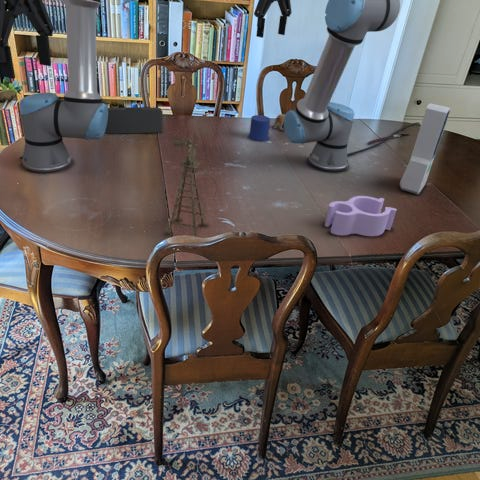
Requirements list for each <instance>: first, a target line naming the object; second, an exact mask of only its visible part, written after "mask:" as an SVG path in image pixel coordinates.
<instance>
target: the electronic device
mask: <svg viewBox="0 0 480 480" xmlns="http://www.w3.org/2000/svg"><path fill="white" fill-rule="evenodd" d="M451 110H452V108H451V107H448V106H443V105H440V104H435V103H431V102H430V103H429V104H427V106H426V108H425V110H424V113H423V114H424V115H423V118H422V121H421V124H420V127H419V130H418V134H417V136H416V140H415V143H414V147H413V149H412V153H411V157H410V159H409V162H408V164H407V166H406V168H405V171H404V173H403V174H402V177H401V179H400V180H399V181H400V182H399V187H400V189H401V190H402V191H405V192H408V193H411V194H415V195H419V194H420V193H421V191H422V190H423V189H424V187H425V186H426V183H427V181H428V178H429V175H430V171H431V168H432V165H433V162H434V159H435V157H436V154H437V150H438V148H439V146H440V143H441V139H442V136H443V133H444V130H445V127H446V125H447V121H448V119H449V115H450V113H451Z"/></svg>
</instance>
